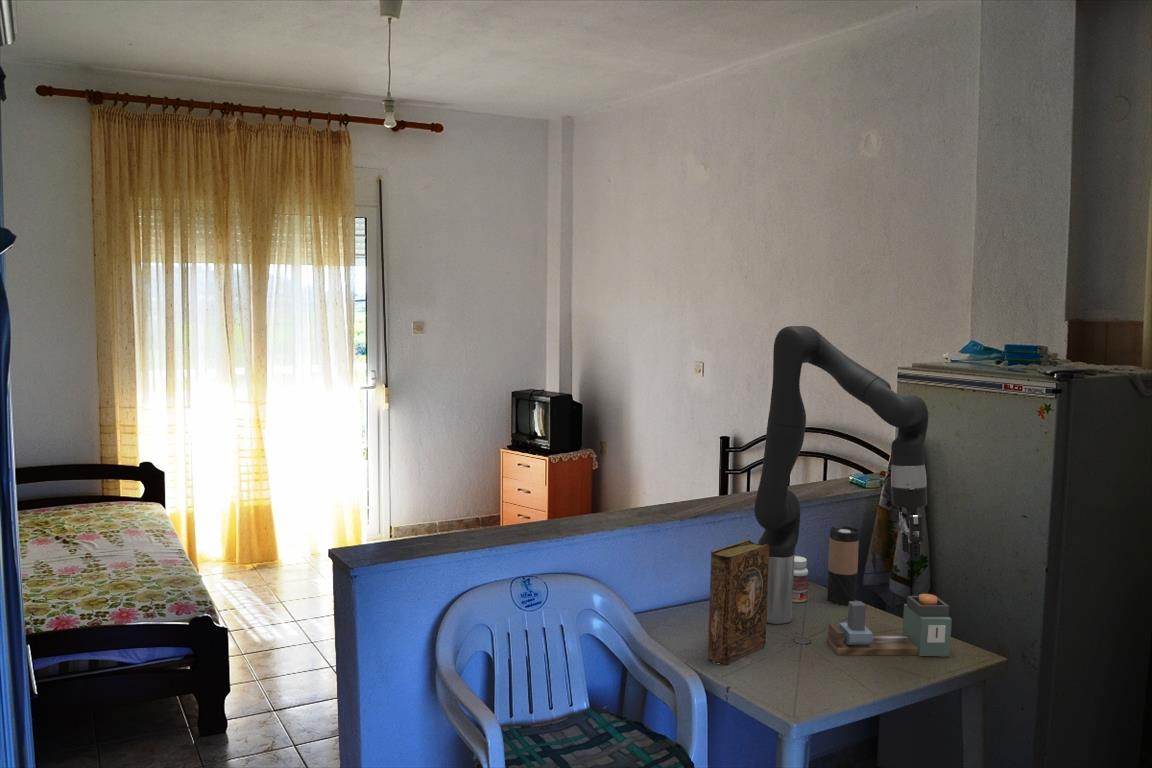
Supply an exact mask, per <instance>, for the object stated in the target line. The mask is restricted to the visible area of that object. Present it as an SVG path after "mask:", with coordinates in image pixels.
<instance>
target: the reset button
mask: <svg viewBox="0 0 1152 768" xmlns="http://www.w3.org/2000/svg"><path fill="white" fill-rule="evenodd" d="M918 596H919V604H921V605H937V597H938V596H937V595H934V594H932V593H931V594H930V593H920V594H919V595H918ZM936 596H937V597H936Z"/></svg>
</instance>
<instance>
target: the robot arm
mask: <svg viewBox="0 0 1152 768" xmlns="http://www.w3.org/2000/svg"><path fill="white" fill-rule="evenodd" d="M772 351H773V352H772V353H773V356H772V357H773V358H772V360H773V362H772V363H773V364H772V383H771V386H772V387H771V394H770V395H771V396H770V402H769V411H768V418H767V426H766V435H765V443H764V445H765V446H764V452H763V453H764V454H763V461H762V470H761V473H760V474H761V475H760V479H759V480H760V481H759V482H758V483H759V484H758V488H757V493H756V497H755V501H754V505H753V506H754V508H753V509H754V510H753V511H754V516H755V519H756V521H757V523H758V524H759V525H760V527H761V528H763V529H764V531H763V534H762V536H761V537H760V538H759V540H758V541H757V542H758V543H757V544H760V545H766V544H767V545H769V571H768V598H767V624H775V625H777V624H779V625H781V624H787V623H790V622H791V621H792V619H793V603H794V602H793V580H794V558H795V556H796V555H795V554H796V551H795V550H796V548H797V544H798V541H799V535H800V524H801V523H800V522H801V504H800V501H799V498H798V497H797V496H796V494H795V493H794V492H793V491H791V490H789V489H788V486H789V481H790V476H791V474H792V471H793V469H794V466H795V464H796V462H797V460H798V458H799V456H800V454H801V453H800V452H801V450H802V447H803V444H804V440H805V434H806V433H805V432H806V425H807V413H806V412H807V411H806V408H805V405H804V401H803V397H802V394H801V388H800V387H801V385H800V382H801V381H800V380H801V373H802V366H803V364H810V365H812V366H815V367H817V368H819V369H821V370H822V371H824V372H826V373H827V374H829V375H830V376H832V378H833V379H834V380H835V381H836V382H837V384H838V385H839V386H840V387H841V388H842V389H843V390H844V391H845V392H847V393H848V394H849V395H850V396H852V397H854V398H855V399H857V400H858V401H860V402H861V403H862V404H864V405H866V406H868V407H869V408H870V409H871V410H872V411H873V412H874V413H875V414H876V415H877V416H878V417H879V418H880V419H882V421H884V422H885V423H887V424H888V425H890V426H892V427H895V428H898V429H897V436H896V438H895V439H894V440H893V441H892V442H891V447H890V449H891V451H890V452H891V453H890V455H891V459H890V460H891V469H890V486H891V487H890V491H891V505H893V506H895V507H897V508H898V530H899V532H900V535H901V545H902V546H901V547H902V548H901V549H902V552H903V553H908V554H909V555H908V558H909V560H910V561H912V562H913V561H914V562H915V561H918V562H920V560H921V544H922V543H923V542H924V539H923V522H922V521H923V520H922V518H923V516H922V515H921V514H919V511H918V508H922V507H923V508H924V507H926V506H927V505H928V489H927V487H928V485H927V484H928V483H927V472H926V465H925V464H926V463H925V462H926V461H925V457H926V456H925V442H926V438H927V430H928V425H929V424H928V423H929V411H928V410H929V409H928V406H927V404H926V402H925V401H924V400H923V399H922V398H921V397H919V396H917V395H904V396H903V395H900V394H898V393H897V392H895V391H894V390H893V389H892V387H891V384H890V383H889V382H888V381H886V380H885V379H884V378H882V377H880V376H879V375H877V374H876V373H874V372H872V371H871V370H869V369H868V368H866V367H864V366H863V365H861V364H859V363H858V362H856V361H854V360H853V359H851V358H850V357H849V356H847V355H846V354H845V353H844V352H842V351H841V350H839V348H837V347H836V346H834V344H832V343H831V342H830V341H829V340H828V339H827V338H825V336H823V334H821V333H820V332H818V330H816V329H815V328H813V327H811V326H808V325H789V326H785V327H783V328H781V329H780V330H779V331H778V332H777V334H776V336H775V338H774V343H773V350H772ZM914 535H915V536H914Z"/></svg>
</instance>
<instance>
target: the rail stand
mask: <svg viewBox="0 0 1152 768" xmlns="http://www.w3.org/2000/svg"><path fill="white" fill-rule="evenodd" d="M827 633H828V634H827V636H826V643H827V644H828V646H829V647H830V648H831V649H832V650H833V652H834V653H835V654H836V655H837V656H838V657H839V656H840V657H841V655H844V656H845V657H846V656H849V657H850V656H919V655H918V648H917V647H916V646H915V645H914V644H913V643H912V642H911V641H909V640H908V637H907V636H902V635H873V642H870V644H866V645H847V644H846V638H845V637H844V633H843V632H842V631H841V630H840V628H839V626H838V625H837V624H836V623H828V632H827Z"/></svg>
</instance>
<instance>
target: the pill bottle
mask: <svg viewBox="0 0 1152 768" xmlns="http://www.w3.org/2000/svg"><path fill="white" fill-rule="evenodd" d="M807 562H808V561H807V558H805V557H804V556H799V555H795V558H794V580H793V603H803V602H807V600H808V594H809V593H808V590H809V589H808V587H809V586H808V585H809V570H808V568H807Z"/></svg>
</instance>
